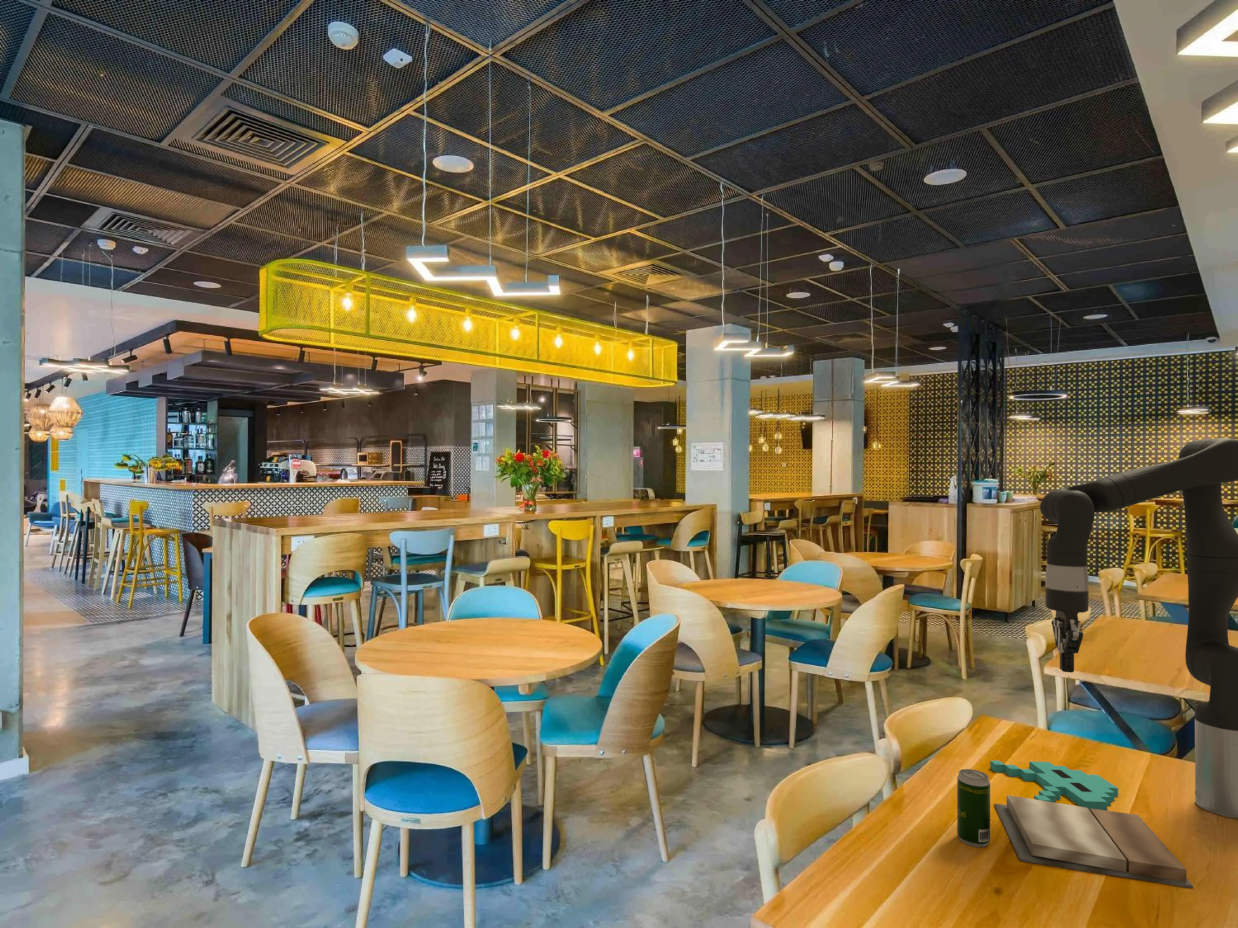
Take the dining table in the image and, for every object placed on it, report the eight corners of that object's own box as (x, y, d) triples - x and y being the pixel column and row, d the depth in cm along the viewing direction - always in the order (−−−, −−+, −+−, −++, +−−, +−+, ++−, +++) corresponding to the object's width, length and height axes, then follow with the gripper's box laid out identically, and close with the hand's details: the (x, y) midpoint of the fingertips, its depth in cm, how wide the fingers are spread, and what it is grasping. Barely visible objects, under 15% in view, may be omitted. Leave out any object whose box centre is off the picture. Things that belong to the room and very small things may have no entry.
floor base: (1139, 825, 135) (1138, 812, 135) (1193, 887, 114) (1192, 872, 114) (994, 805, 143) (994, 793, 143) (1019, 860, 122) (1019, 846, 122)
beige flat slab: (1086, 817, 137) (1087, 807, 137) (1126, 871, 118) (1126, 859, 118) (1006, 804, 141) (1006, 794, 141) (1031, 854, 122) (1032, 843, 122)
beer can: (996, 844, 127) (996, 777, 128) (976, 850, 125) (976, 782, 125) (970, 830, 132) (970, 766, 132) (950, 836, 130) (950, 771, 130)
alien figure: (1040, 811, 142) (1141, 813, 141) (1040, 799, 142) (1140, 802, 141) (990, 770, 162) (1078, 772, 161) (990, 760, 162) (1078, 762, 161)
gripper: (1098, 592, 138) (1099, 681, 137) (1077, 583, 150) (1077, 664, 150) (1055, 590, 140) (1055, 677, 140) (1037, 581, 153) (1037, 661, 152)
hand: (1066, 671), depth 145 cm, fingers closed
